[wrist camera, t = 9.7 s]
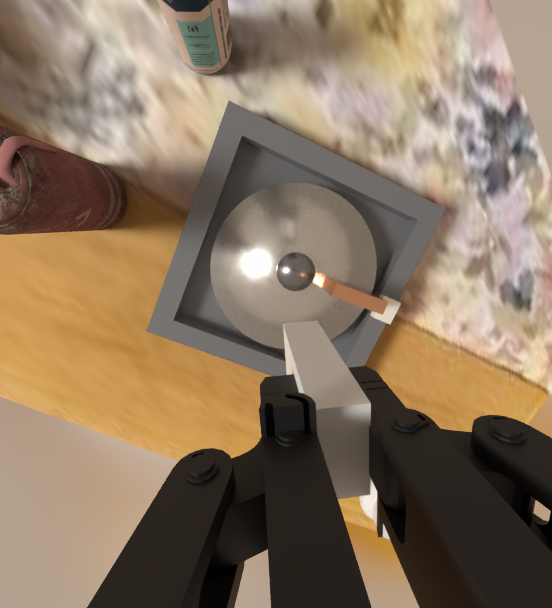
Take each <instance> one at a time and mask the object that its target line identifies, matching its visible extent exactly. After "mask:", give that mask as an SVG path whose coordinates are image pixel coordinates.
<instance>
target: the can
mask: <svg viewBox="0 0 552 608" xmlns="http://www.w3.org/2000/svg"><path fill="white" fill-rule="evenodd" d="M126 206H127V195H126V191H125V188H124V186H123V183H122V182H121V180H120V179H119V178H118V176H117V175H116V174H115V173H114V172H113V171H111V170H110V169H109V168H107V167H106V166H103V165H101V164H98V163H96V162H93V161H90V160H88V159H85V158H83V157H80V156H78V155H75V154H72V153H70V152H67V151H65V150H62V149H60V148H57V147H54V146H52V145H49V144H47V143H44V142H42V141H39V140H36V139H34V138H31V137H29V136H26V135H24V134H21V133H18V132H16V131H13V130H11V129H8V128H6V127H3V126H0V234H5V235H10V234H31V233H52V232H72V231H93V230H104V229H107V228H111V227H112V226H114V225H115V224H117V223H118V222H119V221H120V220H121V218H122V217H123V215H124V214H125V210H126Z"/></svg>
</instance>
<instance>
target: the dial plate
mask: <svg viewBox="0 0 552 608" xmlns="http://www.w3.org/2000/svg"><path fill="white" fill-rule="evenodd" d="M291 182H299V183H309V184H314V185H318V186H321V187H324V188H327V189H329V190H331V191H333V192H335V193H337V194H338V195H340V196H341V197H343V198H344V199H346V200H347V201H348V202H349V203H350V204H351V205H352V206H353V207H355V209H356V210H357V211H358V212H359V213H360V215H361V216H362V218H363V219H364V221H365V222H366V224H367V226H368V228H369V230H370V232H371V235H372V238H373V241H374V245H375V250H376V258H377V269H376V278H375V283H374V287H373V290H372V293H373V294H375V295H377V296H379V297H380V298H382V299H384V300H385V301H387V302H389V303H388V305H387V307H386V309H385V311H384V314H383V315H382V314H379V313H376V312H374V311H371V310H368V309H365V308H364V309H363V311H362V312H361V314H360V315H359V316H358V318H357V319H356V320H355V321H354V322H353V323H352V324H351V325H350V326H349V327H348V328H347V329H346V330H345V331H343V332H342V333H341V334H339V335H338V336H336V337H335V338H333V339H331V340H330V341H331V343H332V344H333V346H334V347H335V349H336V351H337V352H338V354H339V355H340V357H341V358H342V360H343V361H344V363H345V364H346V366H347V367H348V368H349V367H358V366H365V364H366V362H367V360H368V358H369V356H370V354H371V352H372V350H373V348H374V346H375V344H376V342H377V340H378V339H379V337H380V335H381V333H382V331H383V329H384V327H385V325H386V323H387V324H391V322H392V320H393V318H394V316H395V314H396V313H397V311H398V309H399V307H400V305H401V303H400V302H398V300H399V298H400V296H401V294H402V292H403V290H404V288H405V286H406V284H407V283H408V281H409V279H410V277H411V275H412V273H413V271H414V269H415V267H416V265H417V263H418V261H419V259H420V257H421V256H422V254H423V252H424V250H425V248H426V246H427V244H428V242H429V240H430V238H431V236H432V234H433V232H434V230H435V229H436V227H437V225H438V223H439V221H440V219H441V217H442V215H443V213H444V211H445V208H443V207H441V206H439V205H437V204H435V203H433V202H431V201H429V200H427V199H425V198H423V197H421V196H419V195H417V194H415V193H413V192H411V191H409V190H407V189H405V188H403V187H401V186H399V185H397V184H395V183H393V182H391V181H389V180H387V179H385V178H383V177H381V176H379V175H377V174H375V173H373V172H371V171H369V170H367V169H365V168H363V167H361V166H359V165H357V164H355V163H353V162H351V161H349V160H347V159H345V158H343V157H341V156H339V155H337V154H335V153H333V152H331V151H329V150H327V149H325V148H323V147H321V146H319V145H317V144H315V143H313V142H311V141H309V140H307V139H305V138H303V137H301V136H299V135H297V134H295V133H293V132H291V131H289V130H287V129H285V128H283V127H281V126H279V125H277V124H275V123H273V122H271V121H269V120H267V119H265V118H263V117H261V116H258V115H256V114H254V113H252V112H250V111H248V110H246V109H244V108H242V107H240V106H238V105H236V104H234V103H232V102H230V101H229V102H228V104H227V107H226V110H225V113H224V116H223V119H222V121H221V124H220V127H219V130H218V133H217V135H216V138H215V141H214V144H213V147H212V149H211V152H210V155H209V158H208V161H207V163H206V166H205V169H204V172H203V175H202V178H201V180H200V183H199V186H198V189H197V192H196V194H195V197H194V200H193V203H192V206H191V208H190V211H189V214H188V217H187V220H186V222H185V225H184V228H183V231H182V234H181V236H180V239H179V242H178V245H177V248H176V251H175V253H174V256H173V259H172V262H171V265H170V267H169V270H168V273H167V276H166V279H165V281H164V284H163V287H162V290H161V293H160V295H159V298H158V301H157V304H156V307H155V310H154V312H153V315H152V318H151V321H150V324H149V326H148V329H147V332H150V333H153V334H156V335H159V336H161V337H164V338H167V339H170V340H173V341H175V342H178V343H181V344H184V345H187V346H189V347H192V348H195V349H198V350H201V351H203V352H206V353H209V354H212V355H215V356H217V357H220V358H223V359H226V360H229V361H231V362H234V363H237V364H240V365H243V366H245V367H248V368H251V369H254V370H257V371H259V372H262V373H265V374H268V375H271V376H281V375H287V374H286V359H285V349H280V348H274V347H270V346H266V345H264V344H261V343H259V342H256V341H254V340H253V339H251V338H249V337H247V336H246V335H245V334H243V333H242V332H240V331H239V330H238V329H237V328H236V327H235V326H234V325H233V324H232V323H231V322H230V321H229V319H228V318H227V317H226V316H225V314H224V313H223V311H222V309H221V308H220V306H219V304H218V302H217V299H216V297H215V294H214V291H213V287H212V282H211V275H210V262H211V253H212V249H213V245H214V241H215V239H216V236H217V234H218V231H219V229H220V228H221V226H222V224H223V222H224V221H225V219H226V218H227V217H228V215H229V214H230V213H231V212H232V211H233V210H234V209H235V208H236V207H237V206H238V205H239V204H240V203H241V202H242V201H243V200H245V199H246V198H247V197H249V196H250V195H252V194H254V193H256V192H257V191H259V190H262V189H264V188H267V187H269V186H273V185H277V184H281V183H291Z"/></svg>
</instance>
